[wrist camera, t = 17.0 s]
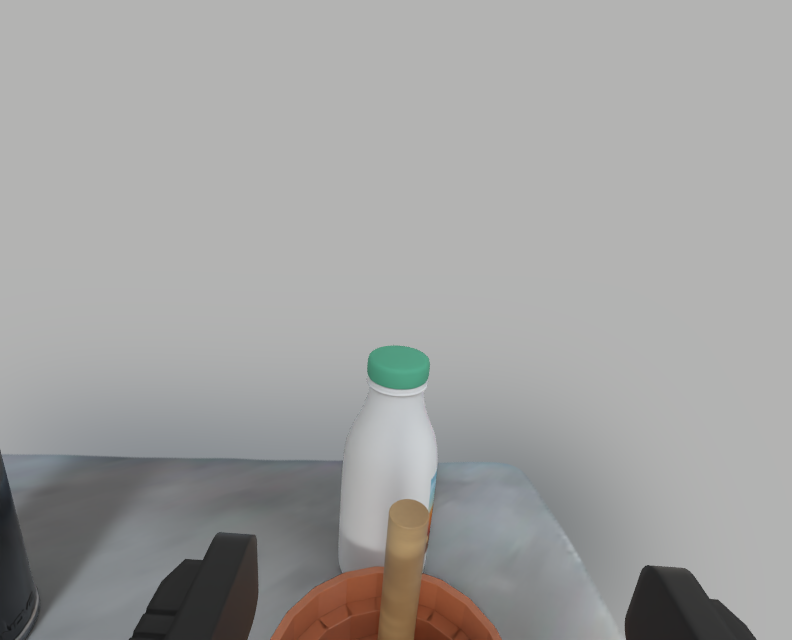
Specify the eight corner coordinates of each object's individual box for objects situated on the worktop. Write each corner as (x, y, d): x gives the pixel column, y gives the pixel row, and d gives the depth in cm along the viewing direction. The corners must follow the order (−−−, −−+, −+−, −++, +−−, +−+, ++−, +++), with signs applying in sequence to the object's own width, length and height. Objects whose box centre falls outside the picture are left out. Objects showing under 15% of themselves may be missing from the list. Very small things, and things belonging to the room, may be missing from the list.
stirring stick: (345, 774, 27) (360, 545, 21) (353, 690, 31) (367, 479, 25) (422, 779, 27) (458, 552, 21) (419, 694, 31) (449, 485, 25)
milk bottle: (410, 614, 37) (437, 390, 30) (322, 581, 39) (328, 365, 32) (434, 542, 44) (461, 347, 37) (358, 518, 46) (370, 329, 39)
